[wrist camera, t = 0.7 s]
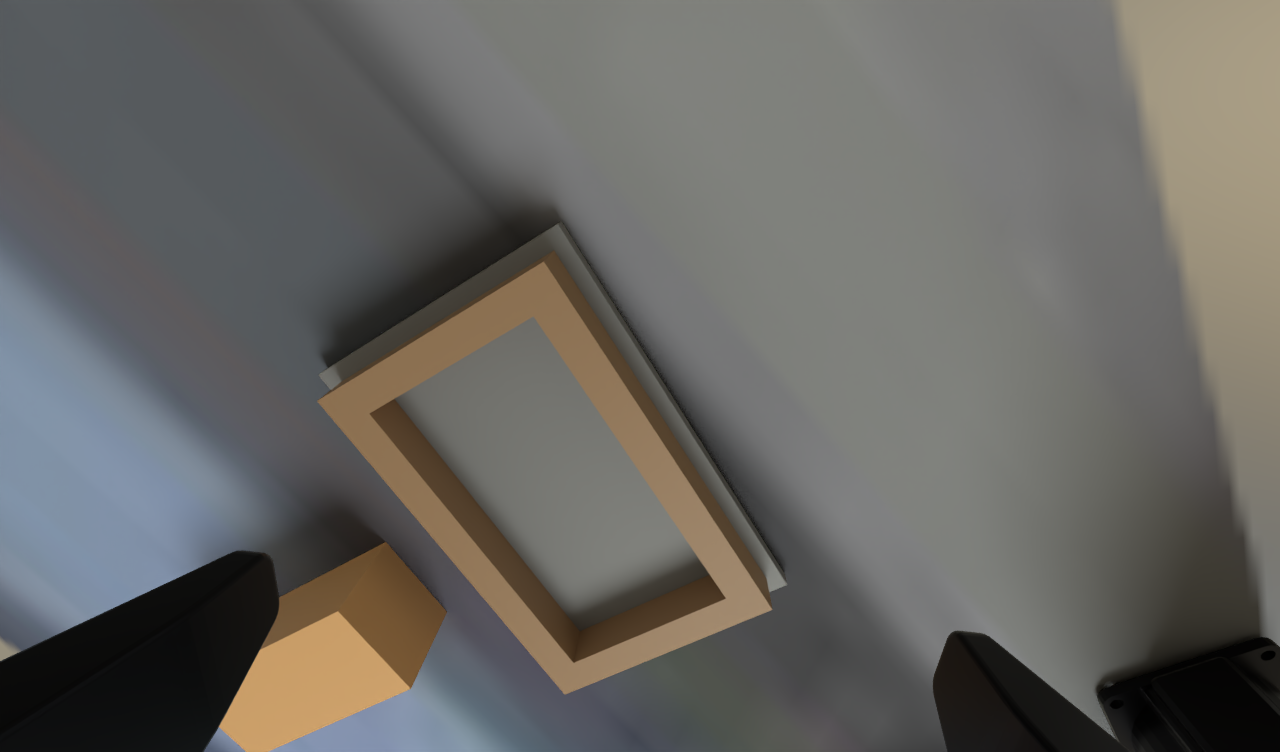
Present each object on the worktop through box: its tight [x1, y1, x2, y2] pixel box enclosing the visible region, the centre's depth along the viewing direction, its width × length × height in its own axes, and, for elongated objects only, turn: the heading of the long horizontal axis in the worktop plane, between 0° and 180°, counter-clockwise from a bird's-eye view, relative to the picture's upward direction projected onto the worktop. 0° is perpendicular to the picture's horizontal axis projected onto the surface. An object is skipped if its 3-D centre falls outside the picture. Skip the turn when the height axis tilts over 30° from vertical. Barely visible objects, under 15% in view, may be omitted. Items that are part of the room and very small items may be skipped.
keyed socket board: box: [318, 222, 787, 694], centre depth 23 cm, size 16×10×2 cm, turn 31°
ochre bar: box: [219, 542, 447, 752], centre depth 25 cm, size 8×4×4 cm, turn 121°
